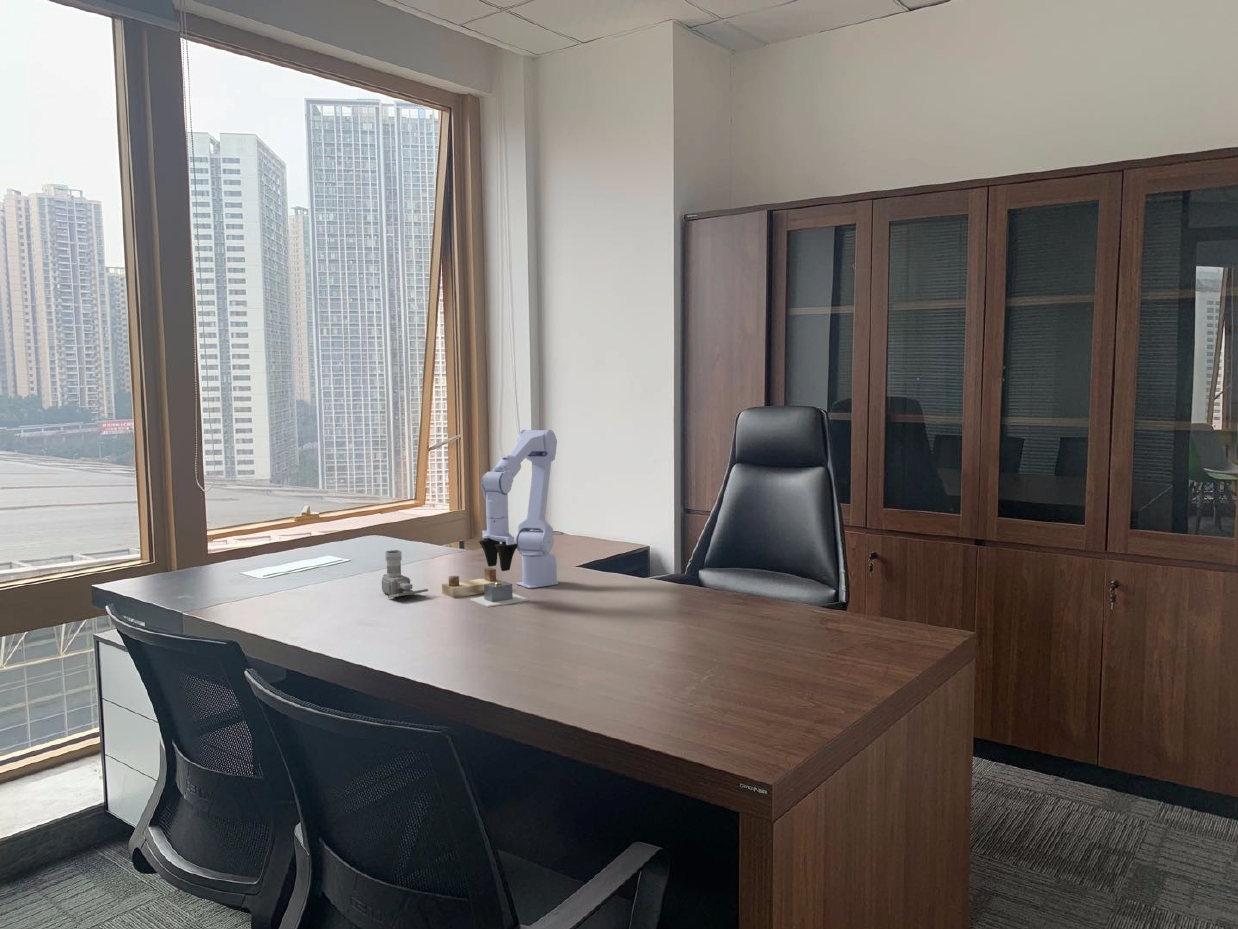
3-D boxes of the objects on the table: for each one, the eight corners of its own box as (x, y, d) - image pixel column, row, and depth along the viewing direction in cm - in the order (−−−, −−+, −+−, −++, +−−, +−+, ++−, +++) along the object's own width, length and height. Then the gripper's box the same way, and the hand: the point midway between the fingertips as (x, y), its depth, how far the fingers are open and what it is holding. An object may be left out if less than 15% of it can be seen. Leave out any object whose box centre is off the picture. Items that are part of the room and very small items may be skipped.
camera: (402, 548, 261) (427, 556, 249) (403, 589, 262) (428, 599, 250) (373, 551, 255) (397, 560, 244) (374, 594, 257) (398, 604, 245)
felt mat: (510, 594, 254) (510, 592, 254) (528, 600, 246) (528, 599, 246) (470, 600, 247) (470, 598, 247) (487, 607, 239) (487, 605, 239)
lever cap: (504, 596, 250) (504, 579, 249) (512, 599, 246) (512, 582, 246) (484, 599, 246) (483, 582, 246) (492, 602, 243) (491, 585, 242)
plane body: (491, 586, 264) (490, 566, 264) (502, 590, 259) (502, 570, 258) (442, 593, 256) (441, 572, 255) (453, 597, 250) (452, 576, 250)
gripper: (471, 515, 248) (472, 565, 249) (496, 521, 236) (497, 574, 238) (495, 513, 252) (496, 562, 253) (520, 519, 240) (522, 571, 241)
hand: (498, 568), depth 246 cm, fingers open, 7 cm apart
